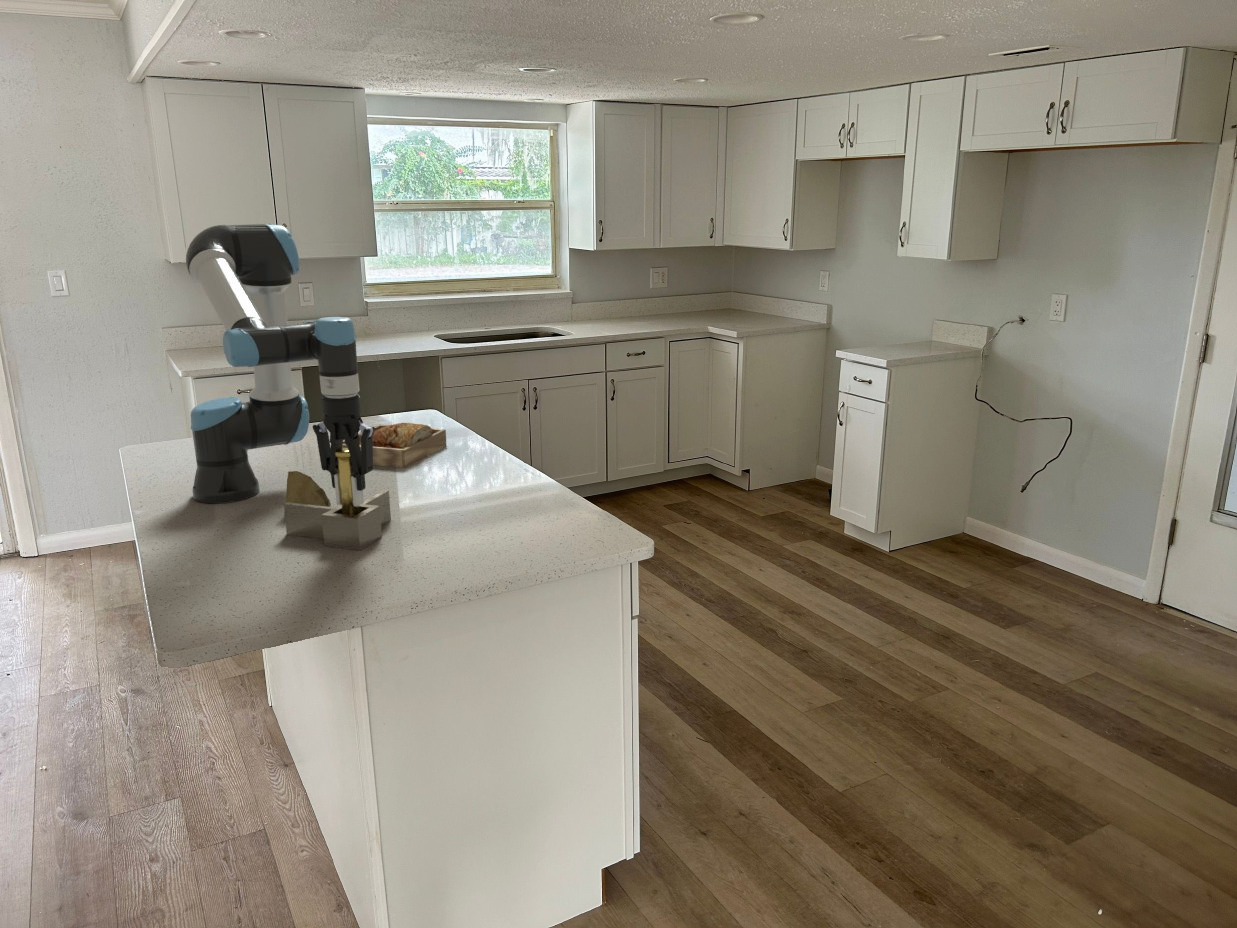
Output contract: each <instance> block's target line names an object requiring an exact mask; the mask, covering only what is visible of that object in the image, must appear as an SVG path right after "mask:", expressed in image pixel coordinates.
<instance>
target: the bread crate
mask: <svg viewBox="0 0 1237 928" xmlns="http://www.w3.org/2000/svg"><path fill="white" fill-rule="evenodd" d="M389 425H390V424H377V425H375V426H373V427H374V428H375V431H376V430H379V429H381V428H383V427H385V426H389ZM431 429H432V432H433V434H432V435H430V436H428V437H426V438H424V439H422V440H420V441H418V442H416V443H414V444H412V445H410V446H408V447H406V448H404V449H397V448H385V447H373V466H378V467H379V466H381V467H393V468H401V469H407V468H409V467H411V466H412V465H414V464H416V463H418V462H419V461H421V460H423V459H425V458H427V457H429V456H431V455H433V454H434V453H436V452H438V451H440V450H442V449H443V448H445V447H447V445H448V444H447V432H446V431H447V430H446V429H442V428H434V427H433V428H432V427H431ZM360 433H361V432H358V434H359V439H360V440H359V445H360V443H361V437H362V435H360ZM342 448H348V446H347V445H346V444H345V440H343V445H342ZM360 449H361V445H360Z"/></svg>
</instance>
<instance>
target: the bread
mask: <svg viewBox="0 0 1237 928" xmlns="http://www.w3.org/2000/svg"><path fill="white" fill-rule="evenodd" d="M388 425H389V426H385V427H383V428H381V429H379V430H376V431H374V434H373V447H385V448H397V449H404V448H406V447H408V446H410V445H412V444H414V443H416V442H418V441H420V440H422V439H424V438H426V437H428V436H430V435H432V434H433V432H432V429H431V428H432V427H431V426H430V425H427V424H424V423H412V422H411V423H410V422H400V423H395V424H388ZM360 445H361V443H360Z"/></svg>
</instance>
